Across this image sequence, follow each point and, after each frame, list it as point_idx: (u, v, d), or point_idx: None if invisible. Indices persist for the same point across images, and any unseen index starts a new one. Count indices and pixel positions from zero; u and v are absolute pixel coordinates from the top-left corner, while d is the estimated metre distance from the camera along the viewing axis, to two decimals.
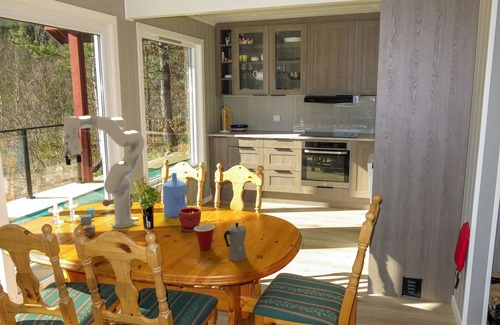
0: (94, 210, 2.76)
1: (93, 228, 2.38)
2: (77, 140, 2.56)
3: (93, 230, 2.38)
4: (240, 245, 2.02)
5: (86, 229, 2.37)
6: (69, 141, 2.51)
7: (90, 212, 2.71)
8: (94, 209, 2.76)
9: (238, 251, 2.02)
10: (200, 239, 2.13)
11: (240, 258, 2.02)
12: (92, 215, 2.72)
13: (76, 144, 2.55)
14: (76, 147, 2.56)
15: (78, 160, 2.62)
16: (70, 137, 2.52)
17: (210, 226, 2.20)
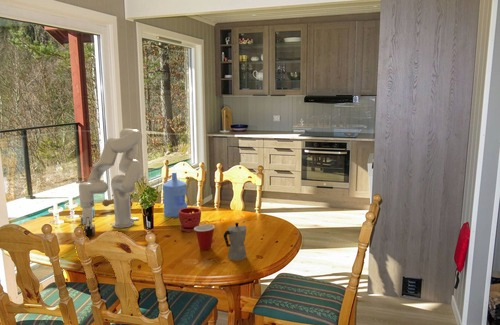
0: (94, 210, 2.76)
1: (93, 228, 2.38)
2: (82, 209, 2.35)
3: (93, 230, 2.38)
4: (240, 245, 2.02)
5: None
6: None
7: None
8: (94, 209, 2.76)
9: (238, 251, 2.02)
10: (200, 239, 2.13)
11: (240, 258, 2.02)
12: None
13: None
14: None
15: None
16: None
17: (210, 226, 2.20)
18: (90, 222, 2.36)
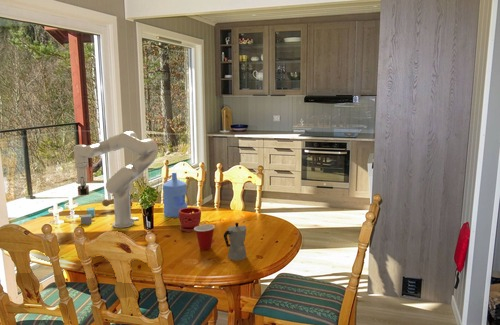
0: (94, 210, 2.76)
1: (87, 188, 2.54)
2: (77, 169, 2.51)
3: (87, 190, 2.54)
4: (240, 245, 2.02)
5: (80, 188, 2.53)
6: None
7: (90, 212, 2.71)
8: (94, 209, 2.76)
9: (238, 251, 2.02)
10: (200, 239, 2.13)
11: (240, 258, 2.02)
12: (92, 215, 2.72)
13: None
14: None
15: None
16: None
17: (210, 226, 2.20)
18: (84, 182, 2.52)
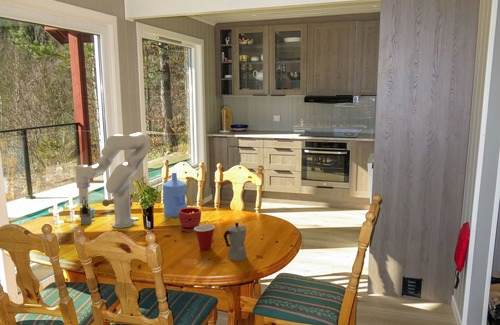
0: (94, 210, 2.76)
1: (88, 209, 2.57)
2: None
3: (88, 211, 2.57)
4: (240, 245, 2.02)
5: None
6: None
7: None
8: (94, 209, 2.76)
9: (238, 251, 2.02)
10: (200, 239, 2.13)
11: (240, 258, 2.02)
12: (92, 215, 2.72)
13: None
14: None
15: None
16: None
17: (210, 226, 2.20)
18: (86, 201, 2.54)
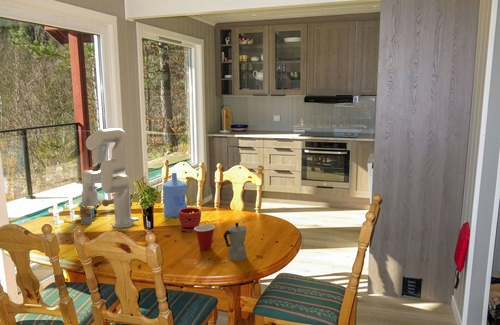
0: None
1: (89, 210, 2.56)
2: None
3: (89, 211, 2.57)
4: (240, 245, 2.02)
5: (82, 210, 2.55)
6: None
7: None
8: None
9: (238, 251, 2.02)
10: (200, 239, 2.13)
11: (240, 258, 2.02)
12: (92, 215, 2.72)
13: None
14: None
15: None
16: None
17: (210, 226, 2.20)
18: None
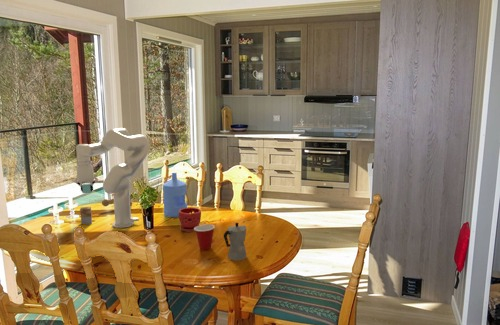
0: None
1: (89, 210, 2.57)
2: None
3: (89, 211, 2.57)
4: (240, 245, 2.02)
5: (82, 210, 2.55)
6: None
7: (86, 187, 2.60)
8: None
9: (238, 251, 2.02)
10: (200, 239, 2.13)
11: (240, 258, 2.02)
12: (88, 191, 2.61)
13: None
14: None
15: None
16: None
17: (210, 226, 2.20)
18: None
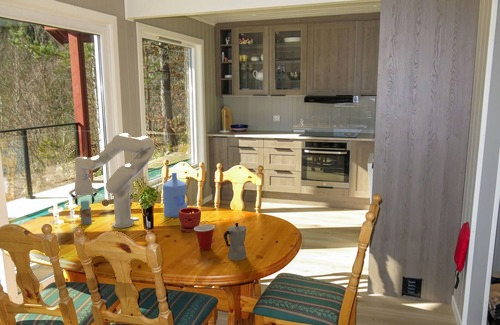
0: None
1: (89, 210, 2.56)
2: None
3: (89, 211, 2.57)
4: (240, 245, 2.02)
5: (82, 210, 2.55)
6: None
7: (84, 204, 2.54)
8: None
9: (238, 251, 2.02)
10: (200, 239, 2.13)
11: (240, 258, 2.02)
12: (86, 207, 2.55)
13: None
14: None
15: (77, 202, 2.56)
16: None
17: (210, 226, 2.20)
18: None
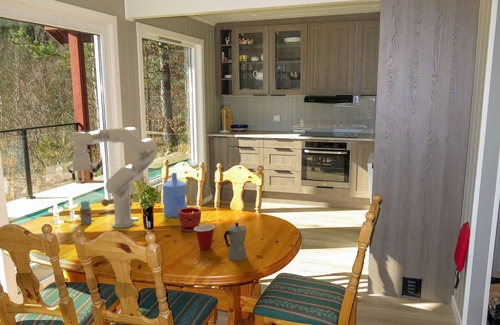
0: None
1: (89, 210, 2.57)
2: None
3: (89, 211, 2.57)
4: (240, 245, 2.02)
5: (82, 210, 2.55)
6: None
7: (84, 204, 2.54)
8: None
9: (238, 251, 2.02)
10: (200, 239, 2.13)
11: (240, 258, 2.02)
12: (87, 207, 2.55)
13: None
14: None
15: (74, 178, 2.53)
16: None
17: (210, 226, 2.20)
18: None
